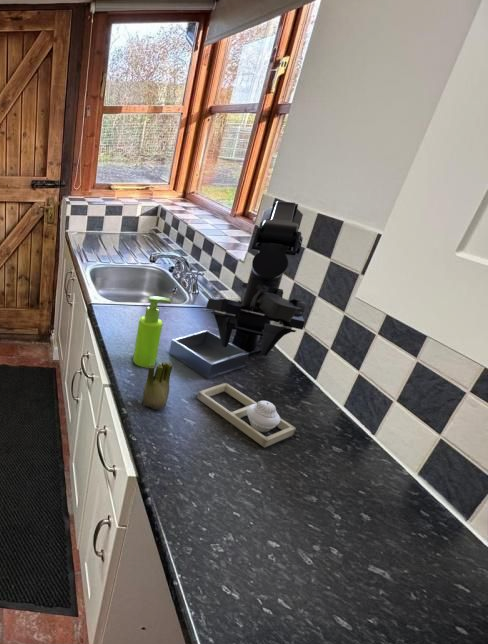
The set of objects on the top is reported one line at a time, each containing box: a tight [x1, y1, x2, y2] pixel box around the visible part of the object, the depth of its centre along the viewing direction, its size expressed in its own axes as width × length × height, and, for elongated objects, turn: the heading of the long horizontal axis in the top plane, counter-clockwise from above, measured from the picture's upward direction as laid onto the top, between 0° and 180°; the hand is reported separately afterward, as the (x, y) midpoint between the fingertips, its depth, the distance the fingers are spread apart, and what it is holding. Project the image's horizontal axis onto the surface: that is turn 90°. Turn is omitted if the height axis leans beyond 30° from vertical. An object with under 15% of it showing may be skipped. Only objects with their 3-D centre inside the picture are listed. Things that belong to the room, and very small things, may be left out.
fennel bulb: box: [142, 361, 174, 411], centre depth 95 cm, size 6×5×12 cm
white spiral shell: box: [247, 400, 281, 433], centre depth 89 cm, size 6×6×7 cm
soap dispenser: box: [132, 295, 172, 369], centre depth 110 cm, size 6×7×20 cm
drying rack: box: [196, 382, 297, 448], centre depth 93 cm, size 9×17×2 cm, turn 22°
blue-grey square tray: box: [168, 329, 249, 380], centre depth 113 cm, size 14×14×5 cm
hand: (243, 351), depth 88 cm, fingers open, 9 cm apart
